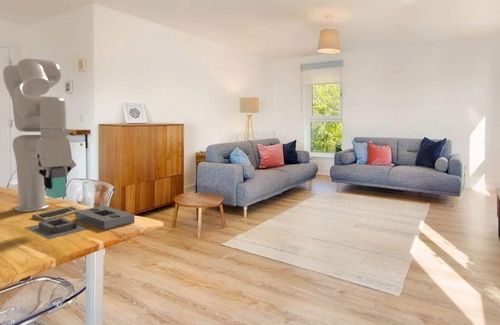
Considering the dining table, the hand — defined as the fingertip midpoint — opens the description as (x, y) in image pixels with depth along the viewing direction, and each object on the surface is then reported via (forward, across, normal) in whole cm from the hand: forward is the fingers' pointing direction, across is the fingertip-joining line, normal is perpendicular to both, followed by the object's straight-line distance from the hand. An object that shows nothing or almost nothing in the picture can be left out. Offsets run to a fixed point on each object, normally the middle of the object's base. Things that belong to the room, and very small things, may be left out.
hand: (55, 186), depth 116 cm
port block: (+16, -15, +5) cm, 22 cm away
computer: (+17, -8, -16) cm, 24 cm away
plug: (+3, 0, 0) cm, 3 cm away
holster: (+16, 0, +1) cm, 16 cm away
